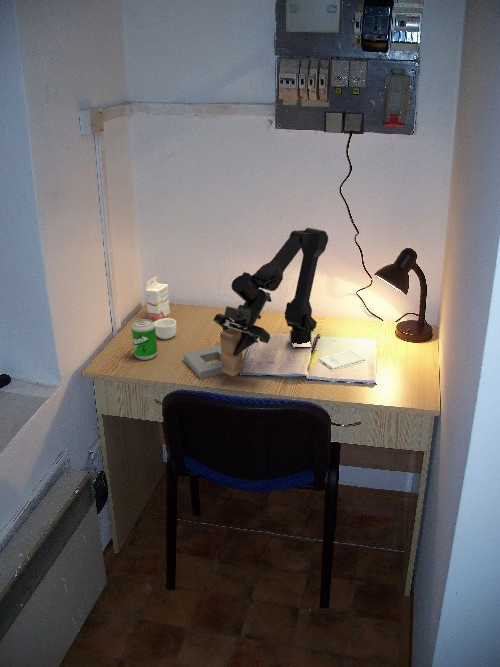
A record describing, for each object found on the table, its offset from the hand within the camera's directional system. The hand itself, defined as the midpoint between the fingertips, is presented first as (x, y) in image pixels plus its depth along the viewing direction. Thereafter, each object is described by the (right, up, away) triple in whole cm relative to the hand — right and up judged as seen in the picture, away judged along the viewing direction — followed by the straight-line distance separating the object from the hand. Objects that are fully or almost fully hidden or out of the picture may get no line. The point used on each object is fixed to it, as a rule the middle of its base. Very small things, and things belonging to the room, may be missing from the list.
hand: (228, 353), depth 195 cm
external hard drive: (+36, -4, +16) cm, 39 cm away
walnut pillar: (+1, -6, +4) cm, 7 cm away
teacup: (-23, +5, +37) cm, 44 cm away
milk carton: (-28, +12, +53) cm, 61 cm away
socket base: (-5, -4, +15) cm, 17 cm away
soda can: (-28, -2, +22) cm, 36 cm away
